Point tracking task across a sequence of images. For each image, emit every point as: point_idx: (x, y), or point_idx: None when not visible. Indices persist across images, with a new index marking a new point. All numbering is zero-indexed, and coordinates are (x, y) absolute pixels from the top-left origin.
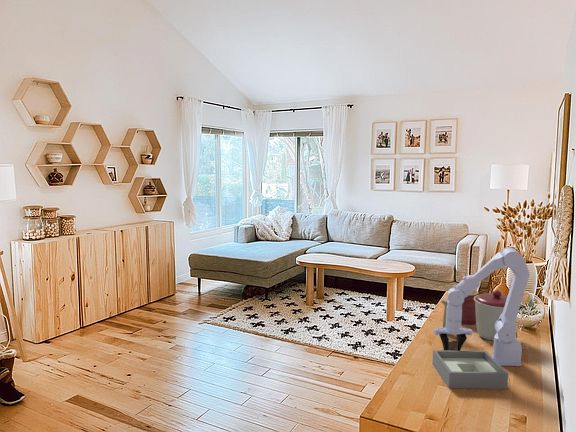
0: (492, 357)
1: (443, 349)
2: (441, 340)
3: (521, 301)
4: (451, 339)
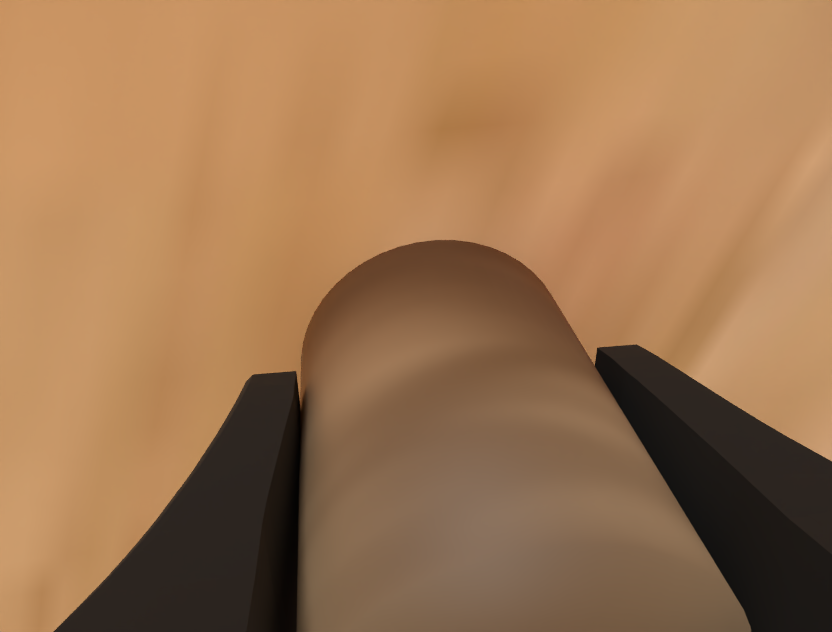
0: None
1: (240, 394)
2: (101, 588)
3: None
4: (558, 610)
